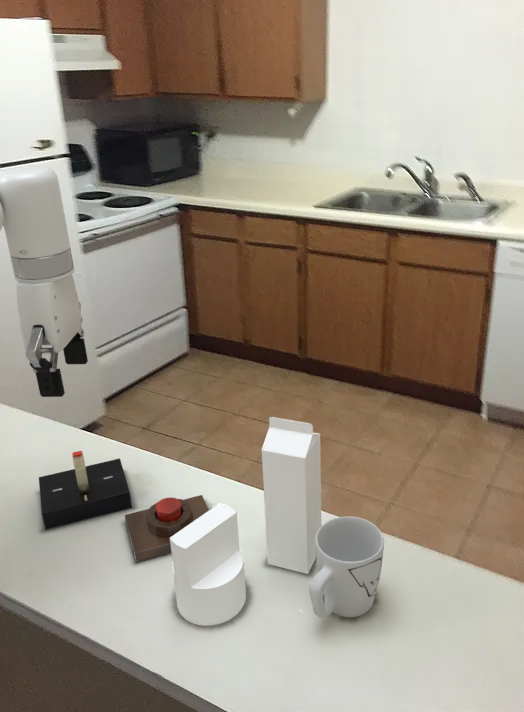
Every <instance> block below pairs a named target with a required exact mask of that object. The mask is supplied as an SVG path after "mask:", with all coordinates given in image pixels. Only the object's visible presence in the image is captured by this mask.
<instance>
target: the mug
mask: <svg viewBox="0 0 524 712" xmlns="http://www.w3.org/2000/svg"><path fill="white" fill-rule="evenodd" d="M315 547H316V556H317V557H316V564H317V573H316V574H315V575H314V576H313V578H312V580H311V582H310V584H309V597H310V601H311V604H312V609H313V612H314V614H315V616H317V617H318V618H319V619H322V620H323V619H326V618H328V617H329V616H330V615H331V614H333V613H334V614H335V615H337V616H340V617H342V618H343V617H344V618H357V617H361V616H363V615H364V614H366V613H368V611H370V610H371V608H372V606H373V604H374V601H375V598H376V594H377V590H378V586H379V583H380V579H381V575H382V574H381V573H382V566H383V559H384V550H385V540H384V536H383V533H382V531H381V530H380V528H378V526H377V525H376V524H374V523H373V522H371V521H369V520H367V519H365V518H362V517H358V516H351V515H350V516H337V517H335V518H332V519H329V520H327V521H325V522H323V524H321V527H320V528H319V530H318V531H317V534H316V538H315Z"/></svg>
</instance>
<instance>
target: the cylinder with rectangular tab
mask: <svg viewBox="0 0 524 712" xmlns="http://www.w3.org/2000/svg"><path fill="white" fill-rule="evenodd" d="M238 525H239V524H238V512H237V511H236V510H235V509H234V508H233V507H231V506H230V505H228V504H226V503H222V502H219V503H217V504H216V505H215V506H213V507H212V508H210V509H209V511H208V512H206V513H205V514H203V515H202V516H200V517H199V518H198V519H196V520H195V521H193V522H192V523H190V524H189V525H187V526H186V527H185V528H183V529H182V530H180V531H179V532H177V533H176V534H174V535H173V536H172V537H170V544H171V558H172V564H171V566H172V570H171V571H172V577H173V584H174V592H175V593H174V594H175V600H176V608H177V611H178V612H179V614H180V615H181V617H183V618H184V619H185V620H186V621H188V622H189V623H191V624H192V625H193V624H194V625H198V626H203V627H204V626H206V627H207V626H209V627H210V626H216V625H217V626H218V625H221V624H223V623H226V622H228V621H230V620H231V619H233V618H234V617H236V616H237V615H238V614H239V613H240V612H241V610H242V609H243V607H244V605H245V603H246V599H247V589H246V576H245V575H246V574H245V564H244V563H245V562H244V556H243V553H242V551H241V549H240V539H239V538H240V537H239V526H238Z"/></svg>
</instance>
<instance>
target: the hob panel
mask: <svg viewBox="0 0 524 712" xmlns="http://www.w3.org/2000/svg"><path fill="white" fill-rule="evenodd" d="M85 467H86V472H87V478H88V483H89V488H90V492H87V493H83V494H79V489H78V484H77V479H76V474H75V468H74V469H68V470H63V471H59V472H55V473H50V474H47V475H42V476H39V477H38V485H39V486H38V487H39V496H40V507H41V516H42V521H43V525H44V529H45V531H47V530H51V529H55V528H57V527H62V526H67V525H70V524H73V523H77V522H81V521H85V520H89V519H93V518H96V517H101V516H105V515H108V514H113V513H117V512H120V511H124V510H127V509H132V508H133V504H132V498H131V492H130V488H129V485H128V481H127V478H126V474H125V470H124V468H123V464H122V461H121V458H115V459H111V460H107V461H102V462H98V463H94V464H90V465H85Z"/></svg>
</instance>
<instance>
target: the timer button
mask: <svg viewBox="0 0 524 712" xmlns="http://www.w3.org/2000/svg"><path fill="white" fill-rule="evenodd" d="M178 499H179V498H176V497H165V498H161V499H160V500H158V501H157V502H158V503H157V502H156V503H157V504H156V503H155V504H156V513H157V518H158V520H160V521H161V522H171V521H174V520H177V519H178V518H180V516H181V514H182V511H181V503H180V501H179V500H178Z"/></svg>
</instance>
